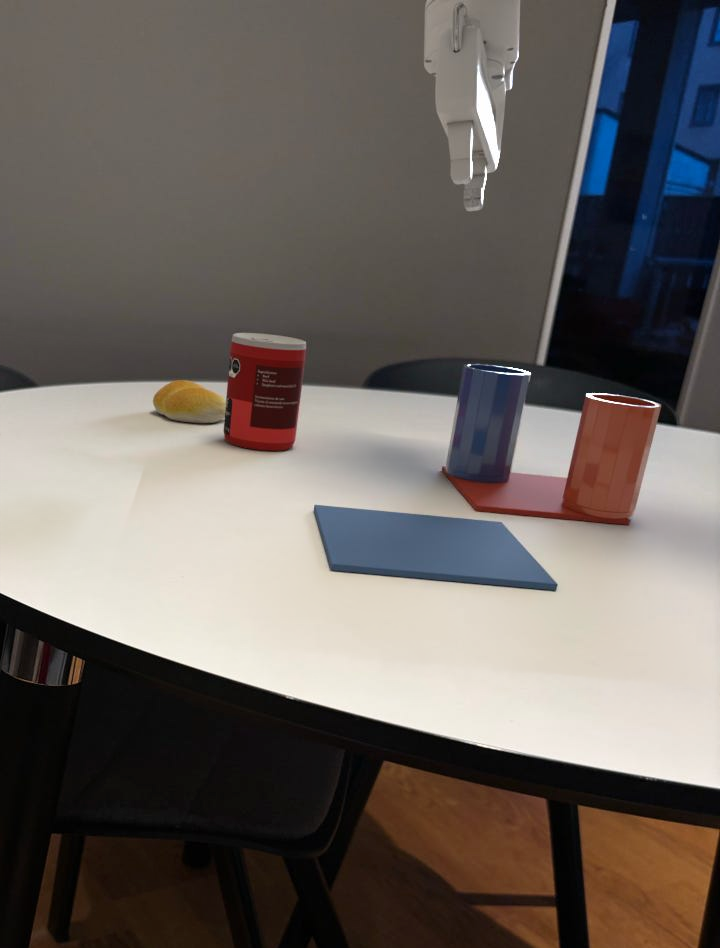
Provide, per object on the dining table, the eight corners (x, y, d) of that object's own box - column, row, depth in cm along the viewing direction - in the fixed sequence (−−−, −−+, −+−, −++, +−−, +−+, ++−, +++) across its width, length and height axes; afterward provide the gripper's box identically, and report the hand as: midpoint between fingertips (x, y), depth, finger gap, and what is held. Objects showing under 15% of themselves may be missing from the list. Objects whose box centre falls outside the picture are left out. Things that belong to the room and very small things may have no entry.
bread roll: (178, 425, 114) (181, 389, 113) (143, 410, 121) (145, 375, 120) (240, 424, 118) (244, 389, 117) (203, 409, 125) (205, 376, 124)
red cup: (618, 503, 97) (644, 397, 93) (644, 521, 91) (673, 409, 87) (553, 497, 96) (576, 390, 93) (574, 515, 91) (600, 402, 87)
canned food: (244, 432, 114) (254, 331, 110) (307, 445, 111) (320, 341, 106) (208, 441, 108) (217, 334, 104) (274, 455, 104) (286, 345, 100)
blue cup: (500, 470, 106) (520, 368, 102) (516, 485, 100) (538, 376, 96) (439, 465, 105) (457, 361, 101) (452, 479, 99) (471, 370, 95)
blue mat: (500, 527, 86) (501, 521, 86) (556, 590, 71) (558, 584, 71) (313, 510, 85) (314, 504, 85) (330, 570, 70) (331, 563, 70)
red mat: (573, 483, 106) (574, 478, 106) (628, 525, 91) (630, 519, 91) (441, 470, 105) (442, 465, 105) (475, 510, 91) (476, 505, 90)
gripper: (494, -14, 85) (489, 159, 87) (513, 79, 104) (509, 219, 106) (419, -2, 87) (416, 167, 89) (452, 87, 107) (448, 225, 109)
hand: (467, 196), depth 98 cm, fingers open, 8 cm apart
